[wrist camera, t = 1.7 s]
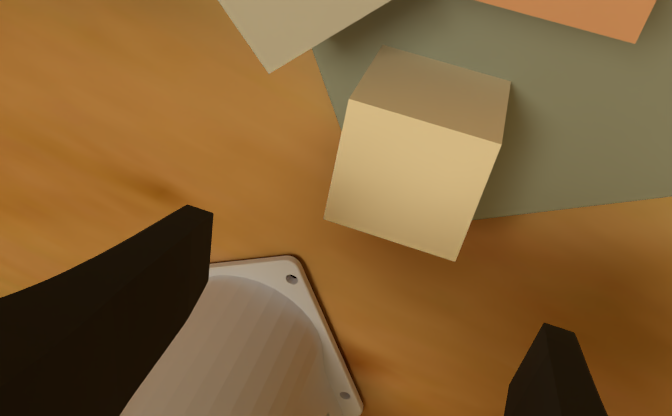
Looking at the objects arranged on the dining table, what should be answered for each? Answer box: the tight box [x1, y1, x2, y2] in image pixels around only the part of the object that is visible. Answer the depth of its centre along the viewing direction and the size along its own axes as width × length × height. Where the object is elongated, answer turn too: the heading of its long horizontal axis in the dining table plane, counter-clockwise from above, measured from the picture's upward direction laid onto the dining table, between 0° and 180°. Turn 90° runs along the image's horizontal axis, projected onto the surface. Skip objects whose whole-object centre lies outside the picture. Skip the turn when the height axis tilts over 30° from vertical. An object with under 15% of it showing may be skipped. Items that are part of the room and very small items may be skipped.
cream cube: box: [323, 45, 511, 262], centre depth 19 cm, size 4×4×4 cm
